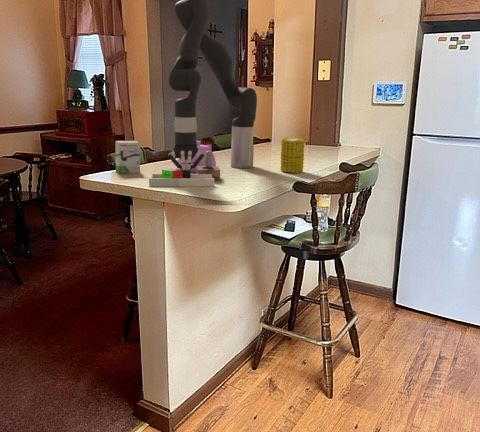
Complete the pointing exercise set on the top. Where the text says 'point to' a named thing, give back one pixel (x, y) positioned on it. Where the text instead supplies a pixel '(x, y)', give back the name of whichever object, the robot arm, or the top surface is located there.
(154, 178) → the tray
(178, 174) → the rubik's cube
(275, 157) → the top surface
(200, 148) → the purple bag
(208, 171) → the bore block
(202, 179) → the guide rails
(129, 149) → the ink box
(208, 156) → the pin gauge
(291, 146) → the food
